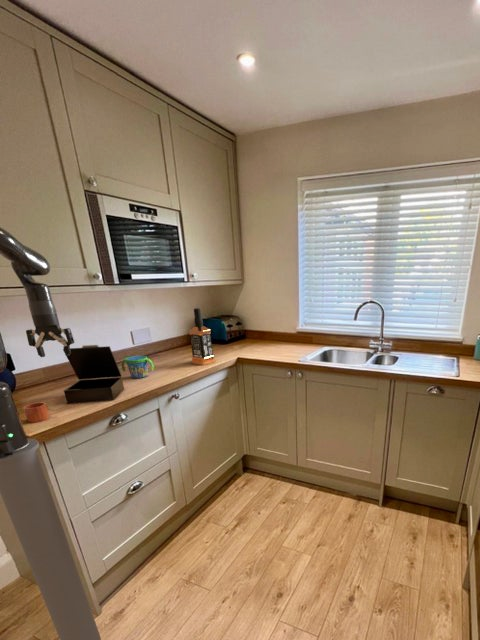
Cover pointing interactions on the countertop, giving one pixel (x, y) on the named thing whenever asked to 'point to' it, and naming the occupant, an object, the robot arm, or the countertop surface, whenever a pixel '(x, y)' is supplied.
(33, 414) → the orange clay pot
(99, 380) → the black box base
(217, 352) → the countertop surface
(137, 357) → the snack cup
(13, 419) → the robot arm
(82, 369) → the lid
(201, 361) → the whiskey bottle
